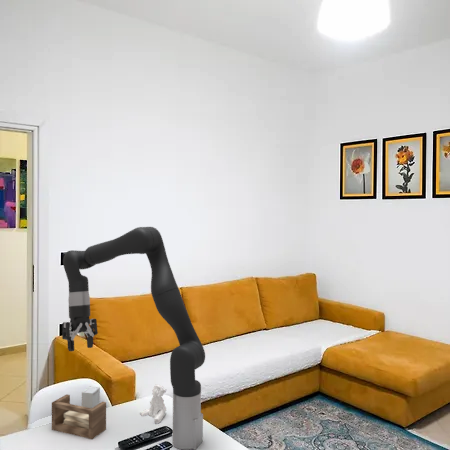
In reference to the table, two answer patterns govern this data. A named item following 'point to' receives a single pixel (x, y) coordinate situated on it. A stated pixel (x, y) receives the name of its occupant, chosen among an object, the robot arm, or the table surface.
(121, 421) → the table surface
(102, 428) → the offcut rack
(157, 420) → the sitting furry creature
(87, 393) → the skincare box
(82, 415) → the offcut stack
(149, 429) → the table surface
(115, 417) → the table surface
